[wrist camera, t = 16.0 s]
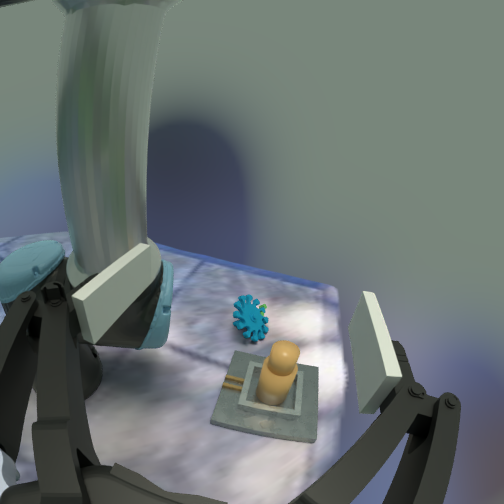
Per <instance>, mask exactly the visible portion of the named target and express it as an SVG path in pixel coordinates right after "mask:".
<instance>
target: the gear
mask: <svg viewBox="0 0 504 504" xmlns="http://www.w3.org/2000/svg"><path fill="white" fill-rule="evenodd" d="M238 299H239V301H237V302H235V303H234V307H235V308H237V309H238V310H239V311H235V312H233V317H234V318H238V319H240V320H238V321H235V322H233V325H234V326H237V329H238V330H239V329H242V328H243V327H246V328H247V331H246V332H243V336H244V337H245V338H249V337H250V334H251V332H253V336H252V337H251V340H252V341H254V342H256V341H258V339H263V338H265V335H264V334H263V333H266V332H268V330H269V329H268V327H266V326H265V325H264V324H266V323H268V318H267V317H263V316H264V313H265V309H266V308H267V306H266V305H265V304H263V305H261V306H259V309H258V308H257V307H256V305H259V304H260V302H259V300H258V299H255V300H253V304H251V302H250V301H251V300H252V299H253V297H252V296H251V295H246V297H245V296H244V295H243V296H240V297H238ZM245 300H246V303H245ZM240 302H241V303H240ZM241 306H242V307H241ZM257 334H258V335H257Z"/></svg>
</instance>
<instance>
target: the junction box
mask: <svg viewBox="0 0 504 504" xmlns="http://www.w3.org/2000/svg"><path fill="white" fill-rule="evenodd" d="M265 359H266V357H262V356H257V355H253V354H248V353H244V352H240V351H236V350H235V352H234V355H233V358H232V361H231V364H230V366H229V369H228V372H227V375H226V377H225V381H224V383H223V386H222V390H221V392H220V395H219V398H218V401H217V404H216V407H215V410H214V412H213V415H212V418H211V424H213V425H217V426H221V427H225V428H229V429H233V430H237V431H241V432H246V433H251V434H256V435H261V436H266V437H272V438H278V439H284V440H291V441H299V442H308V443H314V442H315V441H316V439H317V420H318V367H315V366H309V365H303V364H297V363H296V364H297V366H298V371H297V374H296V376H295V379H294V381H293V383H292V386H291V388H290V390H289V393H288V395H287V397H286V399H285V401H284V402H282V403H281V404H278V405H268V404H265V403H263V402H262V401H260V400H259V399H258V397H257V395H256V388H257V384H258V381H259V377H260V374H261V370H262V366H263V363H264V360H265Z"/></svg>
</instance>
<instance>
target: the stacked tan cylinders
mask: <svg viewBox="0 0 504 504" xmlns="http://www.w3.org/2000/svg"><path fill="white" fill-rule="evenodd" d="M299 355H300V350H299V348H298V346H297V345H295V344H294V343H292V342H289V341H278V342H276V343H274V344H273V346H272V349H271V353H270V356H268V357H267V358H266V359H265V360H264V363H263V366H262V370H261V374H260V377H259V381H258V384H257V388H256V395H257V397H258V399H259V400H260V401H262V402H263V403H265V404H268V405H278V404H281V403H282V402H284V401H285V399H286V397H287V395H288V393H289V390H290V388H291V386H292V383H293V381H294V379H295V376H296V374H297V371H298V366H297V364H296V363H297V360H298V357H299Z"/></svg>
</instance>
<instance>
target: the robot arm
mask: <svg viewBox="0 0 504 504" xmlns="http://www.w3.org/2000/svg"><path fill="white" fill-rule="evenodd" d="M29 1H33V0H0V7H5V6H9V5H14V4H19V3H24V2H29ZM181 1H183V0H52V3H53V5H55V6H56V7H57V8H58V9H59V10H60V11H61V12H62V13H63V15H64V17H65V20H64V26H63V31H62V37H61V43H60V51H59V60H58V70H57V84H56V141H57V155H58V167H59V175H60V183H61V191H62V198H63V204H64V209H65V215H66V220H67V225H68V230H69V235H70V239H71V243H72V248H73V251H72V253H71V254H70V256H69V258H68V257H65V250H64V249H63V247H62V245H61V244H60V243H58V242H57V241H53V240H45V241H39V242H35V243H31V244H29V245H26V246H24V247H22V248H19V249H18V250H16V251H14V252H13V253H11V254H10V255H9V256H7V257H6V258H5V259H4V260H3V261H2V262H1V264H0V301H1V303H2V306H3V309H4V311H5V314H6V316H5V318H4V320H3V322H2V323H1V325H0V504H227V502H223V501H218V500H214V499H210V498H207V497H203V496H199V495H190V494H180V493H172V492H167V491H164V490H162V489H161V488H159V487H158V486H156V485H155V484H153V483H152V482H150V481H149V480H147V479H146V478H145V477H143V476H142V475H140V474H138V473H136V472H134V471H131V470H129V469H127V468H125V467H123V466H121V465H119V464H117V463H115V464H114V466H113V467H112V466H105V465H101V464H100V462H99V459H98V457H97V455H96V453H95V451H94V448H93V444H92V440H91V435H90V430H89V425H88V420H87V415H86V409H85V403H84V400H85V399H87V398H88V397H89V396H91V395H92V394H93V393H94V391H95V390H96V389H97V387H98V386H99V384H100V382H101V378H102V364H101V361H100V358H99V355H98V353H97V351H96V349H95V348H94V346H93V345H98V346H109V347H121V348H134V349H136V350H141V349H143V348H160V347H162V346H163V345H164V344H165V343H166V341H167V338H168V333H169V326H170V316H171V310H170V309H171V303H172V294H173V265H172V264H171V263H170V262H167V261H165V260H161V255H160V251H159V249H158V247H157V246H156V244H155V243H154V242H153V241H152V240H151V239H149V238H147V221H146V220H147V219H146V173H147V172H146V171H147V147H148V146H147V145H148V130H149V116H150V106H151V97H152V88H153V80H154V73H155V65H156V59H157V53H158V48H159V42H160V37H161V32H162V27H163V22H164V18H165V14H166V12H167V11H168V10H169V9H170V8H172V7H173V6H175V5H176V4H178V3H180V2H181ZM348 330H349V335H350V342H351V349H352V355H353V362H354V370H355V378H356V385H357V395H358V404H359V413H363V414H364V413H365V414H374V413H375V412H376V410H377V409H378V408H379V407H380V412H381V414H380V415H379V416H378V417H377V419H376V420H375V421H374V422H373V423H372V424H371V426H370V427H369V428H368V429H367V430H366V432H365V433H364V434H363V435H362V436H361V437H360V438H359V439H358V441H357V442H356V443H355V444H354V445H353V446H352V447H351V448H350V449H349V450H348V451H347V452H346V453H345V454H344V455H343V456H342V457H341V458H340V459H339V460H338V461H337V462H336V463H335V464H334V465H333V466H332V467H331V468H330V469H329V470H328V471H327V472H326V473H324V474H323V475H322V476H321V477H320V478H319V479H318V480H317V481H315V482H314V483H313V484H312V485H311V486H310V487H308V488H307V489H306V490H305V491H304V492H302V493H301V494H300V495H299V496H297V497H296V498H295V499H293V500H292V501H291V502H289V503H288V504H350V503H351V502H352V501H353V500H354V498H355V497H356V496H357V495H358V494H359V493H360V492H361V491H362V490H363V489H364V488H365V486H366V485H367V484H368V483H369V482H370V480H371V479H372V478H373V477H374V476H375V475H376V473H377V472H378V471H379V470H380V468H381V467H382V466H383V464H384V463H385V462H386V460H387V459H388V458H389V456H390V455H391V454H392V452H393V451H394V450H395V448H396V447H397V445H398V444H399V442H400V441H401V439H402V438H403V436H404V435H405V433H409V437H408V440H407V443H406V446H405V449H404V452H403V455H402V458H401V461H400V463H399V466H398V469H397V471H396V474H395V476H394V478H393V481H392V483H391V486H390V488H389V490H388V492H387V495H386V497H385V499H384V501H383V503H382V504H443V501H444V498H445V494H446V491H447V487H448V484H449V479H450V475H451V471H452V466H453V462H454V456H455V451H456V444H457V438H458V431H459V422H460V411H461V404H460V401H459V399H458V398H457V397H456V396H455V395H454V394H452V393H448V392H447V393H444V394H443V395H441V396H440V397H439V398H435V397H432V396H429V395H427V394H426V391H425V389H424V387H423V386H422V385H420V384H419V383H417V382H415V380H414V377H413V374H412V371H411V367H410V364H409V363H408V359H407V357H406V353H405V350H404V348H403V346H402V345H401V344H400V343H399V342H398V341H392V340H391V338H390V335H389V332H388V329H387V326H386V324H385V321H384V318H383V315H382V312H381V310H380V307H379V304H378V302H377V299H376V296H375V294H374V293H371V292H366V291H363V292H362V294H361V297H360V300H359V302H358V305H357V307H356V309H355V312H354V315H353V317H352V319H351V321H350V324H349V326H348ZM32 387H33V388H34V390H35V391H36V393H37V422H33V424H32V440H33V450H34V458H35V465H36V471H37V477H38V480H37V481H32V482H28V483H23V484H17V485H16V482H17V481H18V480H19V479H20V474H19V472H18V471H17V470H16V465H15V462H16V459H17V456H18V452H19V447H20V442H21V435H22V430H23V424H24V419H25V414H26V410H27V405H28V401H29V397H30V393H31V389H32Z"/></svg>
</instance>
